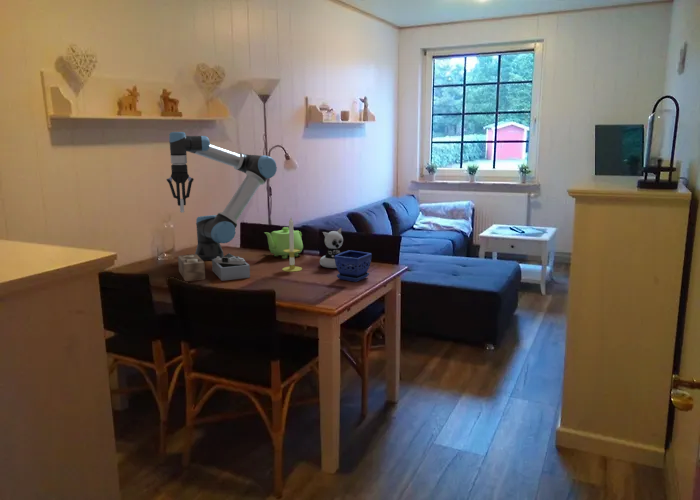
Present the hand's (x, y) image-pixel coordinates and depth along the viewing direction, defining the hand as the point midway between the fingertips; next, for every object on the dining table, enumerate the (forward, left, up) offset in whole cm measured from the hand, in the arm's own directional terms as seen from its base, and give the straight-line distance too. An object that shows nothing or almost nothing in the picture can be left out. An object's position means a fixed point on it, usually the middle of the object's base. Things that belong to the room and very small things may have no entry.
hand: (182, 212), depth 276 cm
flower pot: (-68, +56, -29) cm, 92 cm away
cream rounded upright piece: (0, +21, -28) cm, 35 cm away
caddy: (-18, +23, -28) cm, 41 cm away
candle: (-48, +27, -29) cm, 62 cm away
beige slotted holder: (0, +17, -28) cm, 33 cm away
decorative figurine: (-70, +29, -29) cm, 81 cm away
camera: (-18, +23, -28) cm, 41 cm away
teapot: (-53, -6, -29) cm, 60 cm away
